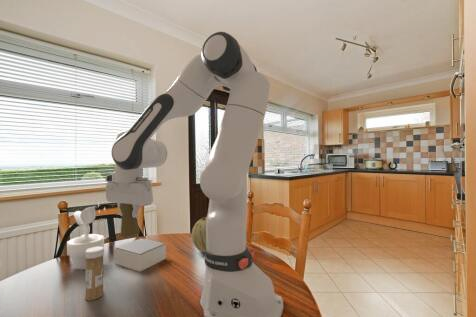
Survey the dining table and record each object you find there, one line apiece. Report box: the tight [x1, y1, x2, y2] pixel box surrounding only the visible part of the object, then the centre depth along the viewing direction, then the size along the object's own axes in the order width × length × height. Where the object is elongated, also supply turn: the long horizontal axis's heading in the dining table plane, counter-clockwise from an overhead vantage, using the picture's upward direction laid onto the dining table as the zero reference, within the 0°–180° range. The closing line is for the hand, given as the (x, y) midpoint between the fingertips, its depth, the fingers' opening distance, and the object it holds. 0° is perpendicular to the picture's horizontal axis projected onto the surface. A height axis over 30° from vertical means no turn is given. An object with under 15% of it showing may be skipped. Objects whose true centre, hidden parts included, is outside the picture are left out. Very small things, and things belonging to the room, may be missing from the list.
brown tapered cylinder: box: [120, 204, 140, 238], centre depth 78 cm, size 6×6×11 cm
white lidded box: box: [114, 237, 167, 272], centre depth 87 cm, size 14×12×6 cm
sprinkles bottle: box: [84, 246, 105, 301], centre depth 64 cm, size 5×5×14 cm
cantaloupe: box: [191, 216, 207, 253], centre depth 96 cm, size 15×15×15 cm
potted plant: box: [66, 199, 106, 271], centre depth 83 cm, size 13×12×25 cm
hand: (128, 216), depth 79 cm, fingers closed on brown tapered cylinder, 4 cm apart
